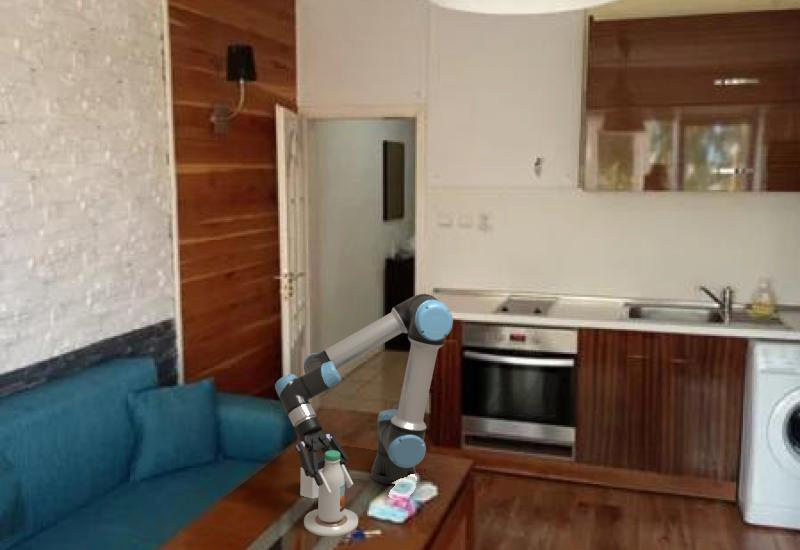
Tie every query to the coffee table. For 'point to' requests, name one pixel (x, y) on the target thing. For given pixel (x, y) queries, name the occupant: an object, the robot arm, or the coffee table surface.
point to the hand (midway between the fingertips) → (339, 490)
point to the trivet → (331, 524)
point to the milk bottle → (332, 489)
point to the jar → (311, 480)
